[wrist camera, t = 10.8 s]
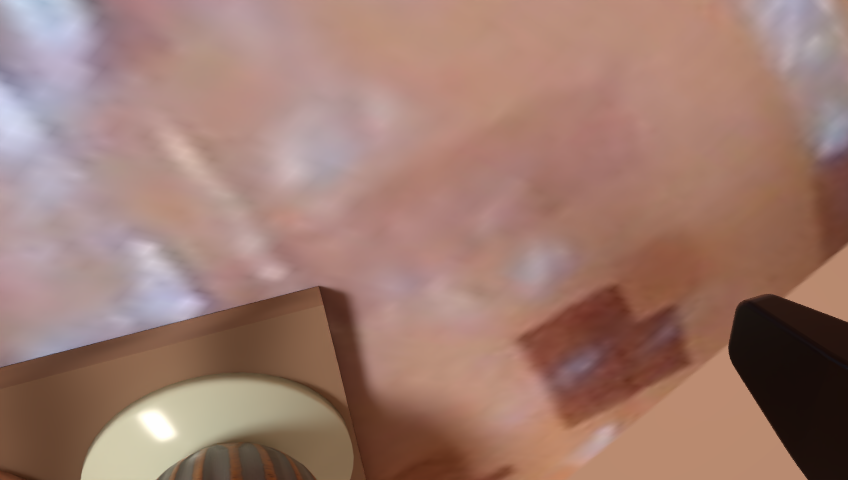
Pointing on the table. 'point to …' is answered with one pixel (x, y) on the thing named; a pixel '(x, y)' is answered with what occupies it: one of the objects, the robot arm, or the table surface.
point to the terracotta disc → (9, 476)
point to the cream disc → (221, 427)
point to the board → (158, 378)
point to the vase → (237, 464)
